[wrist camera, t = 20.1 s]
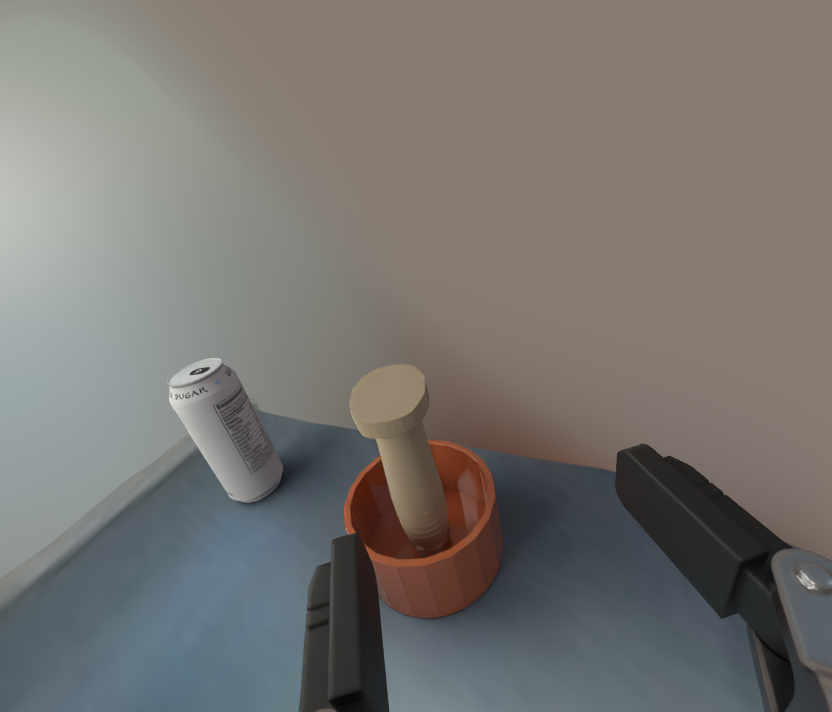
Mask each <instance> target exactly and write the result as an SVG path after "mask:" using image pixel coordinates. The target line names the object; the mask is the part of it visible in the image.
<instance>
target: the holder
mask: <svg viewBox="0 0 832 712" xmlns="http://www.w3.org/2000/svg"><path fill="white" fill-rule="evenodd" d="M428 443H429V446H430V449H431V452H432V455H433V458H434V461H435V464H436V467H437V470H438V473H439V476H440V479H441V482H442V486H443V491H444V495H445V500H446V506H447V512H448V525H449V526H450V541H449V542H447V543H446V545H445V547H444V550H443V552H441V553H438V554H435V555H432V556H428V557H427V558H424V557H421V556H420V554H419V553H418V550H417V548H416V547H415V546H413V545H412V544H411V542H410V540H409V538H408V536H407V535H406V533H405V531H404V529H403V527H402V525H401V522H400V520H399V518H398V516H397V513H396V510H395V507H394V505H393V502H392V498H391V494H390V490H389V487H388V483H387V479H386V475H385V471H384V467H383V463H382V459H381V456H380V457H378V458H376V459H375V460H374V461H373V462H372V463H370V464H369V465H368V466H367V467H366V468H365V469H364V470H363V471H362V472H361V473H360V474H359V476H358V477H357V479H356V480H355V482H354V483H353V485H352V486H351V488H350V490H349V493H348V496H347V500H346V503H345V506H344V517H345V529H346V531H347V533H348V535H349V534H352V533H356V532H359V534H360V536H361V538H362V540H363V543H364V545H365V547H366V549H367V552H368V554H369V556H370V559H371V561H372V563H373V566H374V570H375V574H376V579H377V587H378V596H379V597H380V598H381V599H382V600H383V601H384V602H385V603H386V604H387V605H388V606H390V607H391V608H393V609H395V610H396V611H398V612H401V613H403V614H405V615H409V616H413V617H418V618H438V617H442V616H447V615H450V614H453V613H456V612H458V611H460V610H462V609H464V608H466V607H468V606H469V605H471V604H472V603H473V602H475V601H476V600H477V599H478V598H479V597H480V596H481V595H482V594H483V593H484V592H485V591H486V590H487V589H488V587H489V586H490V585H491V583H492V581H493V580H494V578H495V576H496V574H497V572H498V569H499V567H500V563H501V559H502V552H503V539H502V532H501V525H500V518H499V512H498V505H497V499H496V492H495V486H494V479H493V476H492V474H491V473H490V471H489V469H488V467H487V466H486V464H485V462H484V461H483V460H482V459H481V458H480V457H478V456H477V455H476V454H475V453H473V452H472V451H471V450H469V449H467V448H465V447H462V446H460V445H457V444H455V443H452V442H445V441H437V440H428Z"/></svg>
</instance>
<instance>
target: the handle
mask: <svg viewBox="0 0 832 712" xmlns="http://www.w3.org/2000/svg"><path fill="white" fill-rule="evenodd" d="M349 408H350V412H351V415H352V417H353V419H354V422H355V424H356V426H357V428H358V430H359V431H360V433H361V434H362V436H364V437H367V438H372V439H376V441H377V445H378V448H379V452H380V456H381V459H382V463H383V467H384V471H385V475H386V479H387V483H388V487H389V490H390V494H391V498H392V502H393V505H394V507H395V510H396V513H397V516H398V518H399V520H400V522H401V525H402V527H403V529H404V531H405V533H406V535H407V536H408V538H409V540H410V542H411V544H412V545H413V546H415V547H416V548H417V550H418V553H419V554H420V556H421V557H424V558H427V557H428V556H432V555H435V554H438V553H441V552H443V550H444V547H445V545H446V543H447V542H449V541H450V526H449V525H448V512H447V506H446V500H445V495H444V491H443V486H442V482H441V479H440V476H439V473H438V470H437V467H436V464H435V461H434V458H433V455H432V452H431V449H430V446H429V443H428V440H427V437H426V433H425V430H424V427H423V424H422V419H423V418H424V416H425V414H426V413H427V411H428V408H429V397H428V390H427V386H426V382H425V378H424V375H423V374H422V372H420V371H419V370H418V369H417V368H416V367H415V366H413V365H410V364H396V365H390V366H386V367H382V368H379V369H376V370H373V371H371V372H369V373H367V374H366V375H365V376H364V377H363V378H362V379H361V380H360V381H359V383H357V384H356V386H355V387H354V389H353V391H352V393H351V397H350V401H349Z"/></svg>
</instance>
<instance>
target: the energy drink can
mask: <svg viewBox="0 0 832 712" xmlns="http://www.w3.org/2000/svg"><path fill="white" fill-rule="evenodd" d="M167 384H168V386H170V395H169V396H170V397H169V402H170V403H171V405H172V407H173V408H174V410H175V411H176V413H177V415H178V416H179V418H180V419H181V421H182V422H183V424H184V426H185V427H186V429H187V430H188V432H189V434H190V435H191V437H192V438H193V440H194V441H195V443H196V445H197V446H198V448H199V449H200V451H201V452H202V454H203V456H204V457H205V459H206V460H207V462H208V464H209V465H210V467H211V468H212V470H213V471H214V473H215V475H216V476H217V478H218V479H219V481H220V482H221V484H222V486H223V487H224V489H225V490H226V492H227V494H228V495H229V497H230V498H231V499H233V500H236V501H241V502H244V503H251V502H255V501H258V500H260V499H262V498H264V497H266V496H267V495H269V494H270V493H271V492H272V491H274V489H275V488H276V487H277V486H278V484H279V483H280V480H281V474H282V472H283V465H282V463H281V461H280V459H279V457H278V455H277V453H276V451H275V449H274V447H273V445H272V443H271V441H270V439H269V437H268V435H267V433H266V431H265V429H264V427H263V425H262V423H261V421H260V419H259V417H258V415H257V413H256V411H255V410H254V408H253V406H252V404H251V402H250V400H249V398H248V396H247V394H246V392H245V390H244V388H243V386H242V384H241V382H240V380H239V378H238V376H237V374H236V372H235V371H233V370H232V369H231V368H229V367H227V366H226V365H224V364H223V362H222V360H221V359H219V358H209V359H205V360H201V361H198V362H195V363H192V364H190V365H188V366H186V367H184V368H182V369H180V370H178V371H177V372H176V373H174V374H173V375H171V376H170V377H169V378H168V380H167Z"/></svg>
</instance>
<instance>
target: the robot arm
mask: <svg viewBox="0 0 832 712" xmlns="http://www.w3.org/2000/svg"><path fill="white" fill-rule="evenodd" d="M615 488H616V492H617V495H618V497H619V499H620V501H621V503H622V504H623V506H624V507H625V508H626V509H627V510H628V512H629V513H630V514H631V515H632V516H633V517H634V518H635V520H636V521H637V522H638V523H639V524H640V525H641V526H642V528H643V529H644V530H645V531H646V532H647V533H648V535H649V536H650V537H651V538H652V539H653V540H654V541H655V543H656V544H657V545H658V546H659V547H660V548H661V550H662V551H663V552H664V553H665V554H666V555H667V556H668V558H669V559H670V560H671V561H672V562H673V563H674V564H675V566H676V567H677V568H678V569H679V570H680V571H681V573H682V574H683V575H684V576H685V577H686V578H687V579H688V581H689V582H690V583H691V584H692V585H693V586H694V588H695V589H696V590H697V591H698V592H699V593H700V594H701V596H702V597H703V598H704V599H705V600H706V601H707V602H708V604H709V605H710V606H711V607H712V608H713V609H714V611H715V612H716V613H717V614H718V615H719V616H720V617H721V619H723V618H725V617H728V616H731V615H734V614H737V613H738V614H739V615H740V616H741V617H742V618H743V619H744V620H745V621H746V623H747V635H748V639H749V644H750V648H751V653H752V657H753V662H754V666H755V671H756V675H757V680H758V684H759V689H760V693H761V698H762V702H763V707H764V711H765V712H832V561H831V560H830V559H828V558H826V557H823V556H821V555H819V554H816V553H813V552H810V551H806V550H801V549H794V548H792V547H791V546H789V545H788V544H786V543H785V542H784V541H782V540H781V539H780V538H778V537H777V536H776V535H775V534H773V533H772V532H771V531H770V530H769V529H767V528H766V527H765V526H764V525H762V524H761V523H760V522H759V521H758V520H756V519H755V518H754V517H753V516H751V515H750V514H749V513H748V512H747V511H745V510H744V509H743V508H742V507H740V506H739V505H738V504H737V503H736V502H734V501H733V500H732V499H731V498H730V497H728V496H727V495H724V494H723V492H722V491H721V490H720V489H719V488H717V487H716V486H715V485H714V484H712V483H709V481H708V480H707V479H706V478H705V477H704V476H703V475H701V474H700V473H699V472H698V471H696V470H695V469H694V468H693V467H691V466H690V465H688V464H686V463H684V462H682V461H679V460H677V459H675V458H673V457H671V456H667V457H664V458H663V457H662V456H660V454H658V453H657V452H656V451H655V450H654V449H652V448H651V447H650V446H648V445H646V444H640V445H637V446H634V447H631V448H627V449H624V450H621V451H619V452H618V454H617V465H616V482H615ZM307 611H308V613H307V616H306V632H305V642H304V655H303V669H302V682H301V695H300V706H299V712H389V704H388V693H387V683H386V672H385V661H384V650H383V640H382V629H381V618H380V608H379V597H378V587H377V579H376V574H375V570H374V566H373V563H372V561H371V559H370V556H369V554H368V552H367V549H366V547H365V545H364V543H363V540H362V538H361V536H360V534H359V532H356V533H352V534H349V535H346V536H343V537H340V538H336V539H333V540H332V544H331V562H329V563H326V564H323V565H320V566H317V568H316V571H315V573H314V576H313V578H312V580H311V583H310V585H309V589H308V602H307Z"/></svg>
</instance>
